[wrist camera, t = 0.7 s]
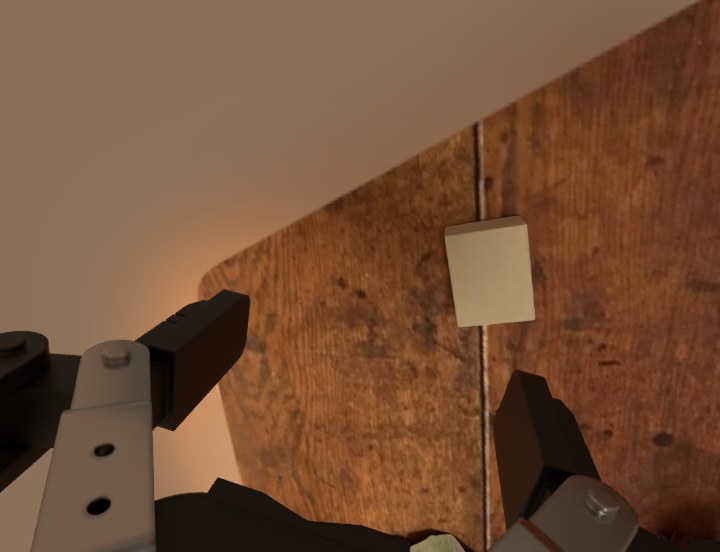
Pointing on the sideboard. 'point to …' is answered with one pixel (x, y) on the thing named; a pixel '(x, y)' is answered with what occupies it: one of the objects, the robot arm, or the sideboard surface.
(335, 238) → the sideboard surface
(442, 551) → the mossy green rock
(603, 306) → the sideboard surface
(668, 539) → the bird
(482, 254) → the cream pad
